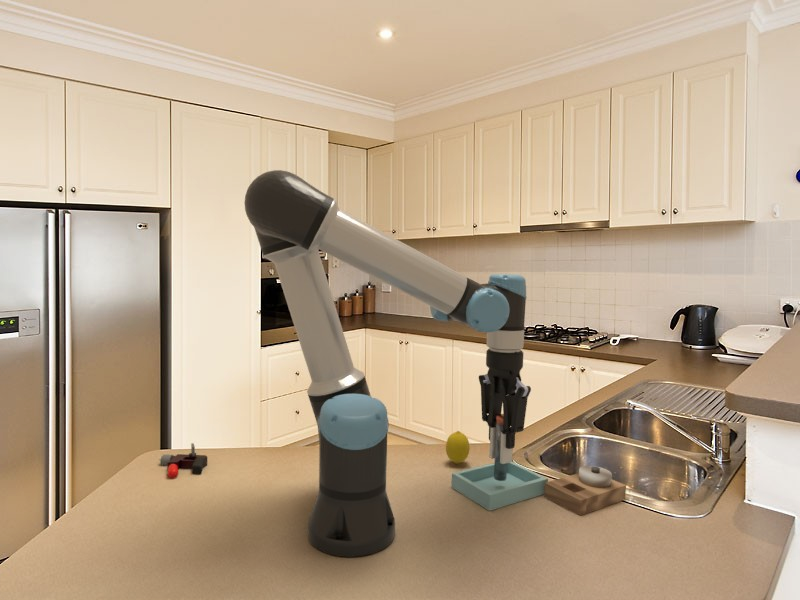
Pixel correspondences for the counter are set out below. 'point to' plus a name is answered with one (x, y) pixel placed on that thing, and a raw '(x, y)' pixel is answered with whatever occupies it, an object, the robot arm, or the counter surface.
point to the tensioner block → (585, 490)
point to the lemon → (457, 447)
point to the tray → (498, 485)
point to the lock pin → (499, 468)
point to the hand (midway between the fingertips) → (500, 459)
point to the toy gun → (184, 462)
